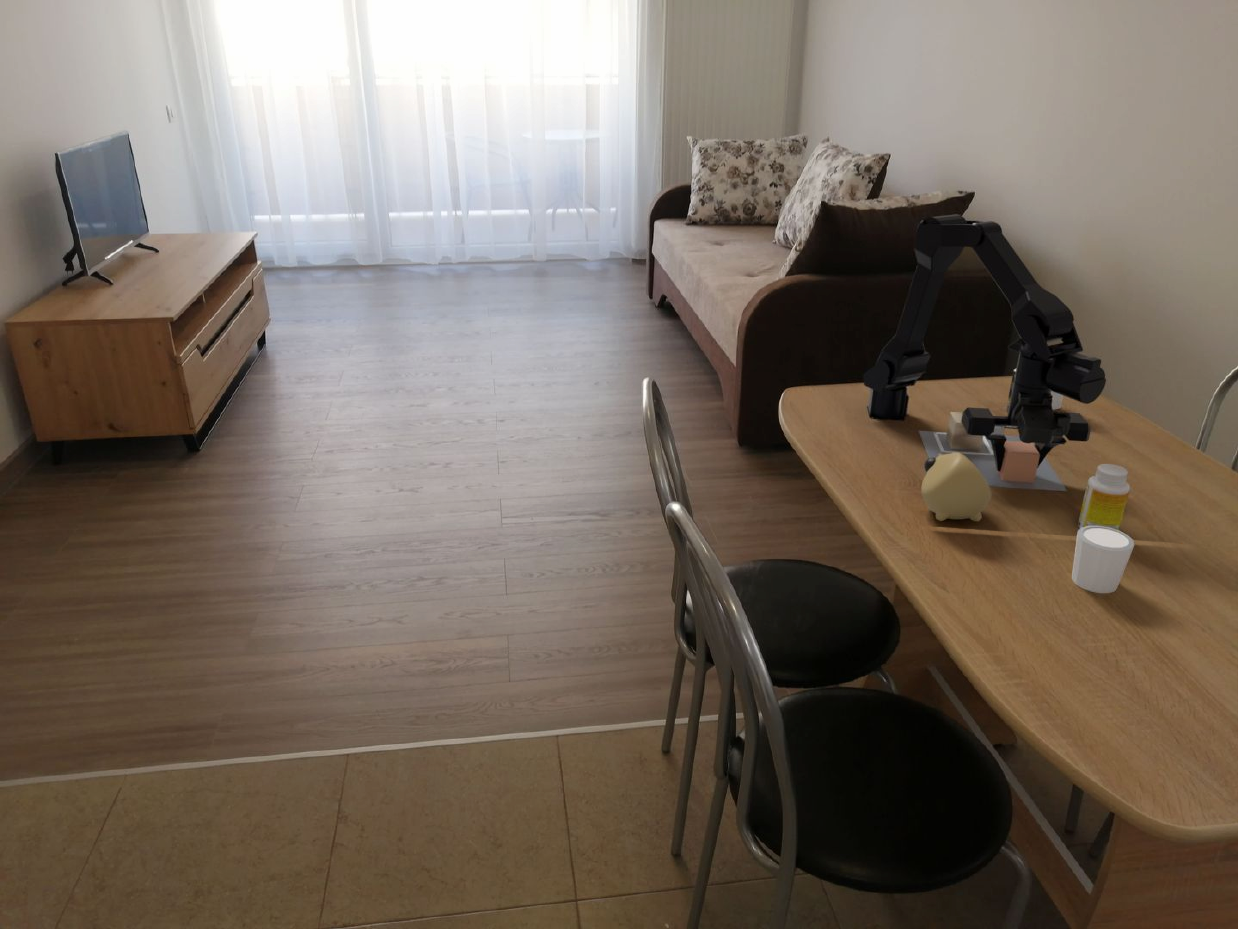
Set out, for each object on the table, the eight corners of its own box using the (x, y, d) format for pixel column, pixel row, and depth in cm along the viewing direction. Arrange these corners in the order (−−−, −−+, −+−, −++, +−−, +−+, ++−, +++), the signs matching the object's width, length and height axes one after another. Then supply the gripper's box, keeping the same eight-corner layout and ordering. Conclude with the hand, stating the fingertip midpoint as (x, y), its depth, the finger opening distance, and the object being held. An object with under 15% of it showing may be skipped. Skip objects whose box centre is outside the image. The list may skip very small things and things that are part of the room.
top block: (1002, 480, 154) (1007, 452, 152) (995, 467, 158) (1000, 440, 156) (1034, 482, 153) (1040, 454, 151) (1026, 469, 158) (1031, 442, 156)
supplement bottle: (1125, 540, 137) (1142, 477, 133) (1088, 540, 137) (1103, 477, 133) (1106, 521, 142) (1121, 460, 138) (1070, 522, 142) (1084, 461, 138)
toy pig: (972, 498, 149) (983, 437, 145) (993, 536, 138) (1006, 471, 134) (909, 496, 150) (918, 435, 145) (925, 533, 139) (935, 468, 135)
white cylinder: (1119, 601, 123) (1131, 555, 120) (1062, 586, 126) (1073, 541, 123) (1125, 577, 128) (1137, 533, 125) (1070, 563, 131) (1081, 519, 128)
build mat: (938, 486, 153) (939, 482, 153) (918, 433, 173) (918, 430, 172) (1066, 494, 151) (1067, 490, 150) (1031, 440, 170) (1031, 436, 170)
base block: (951, 448, 165) (955, 422, 163) (946, 437, 170) (950, 411, 168) (980, 450, 165) (985, 424, 163) (974, 439, 169) (979, 413, 167)
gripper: (983, 398, 143) (966, 489, 149) (1112, 404, 141) (1089, 497, 147) (968, 373, 153) (953, 460, 159) (1088, 379, 150) (1068, 467, 157)
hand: (1015, 471), depth 155 cm, fingers closed on top block, 5 cm apart
